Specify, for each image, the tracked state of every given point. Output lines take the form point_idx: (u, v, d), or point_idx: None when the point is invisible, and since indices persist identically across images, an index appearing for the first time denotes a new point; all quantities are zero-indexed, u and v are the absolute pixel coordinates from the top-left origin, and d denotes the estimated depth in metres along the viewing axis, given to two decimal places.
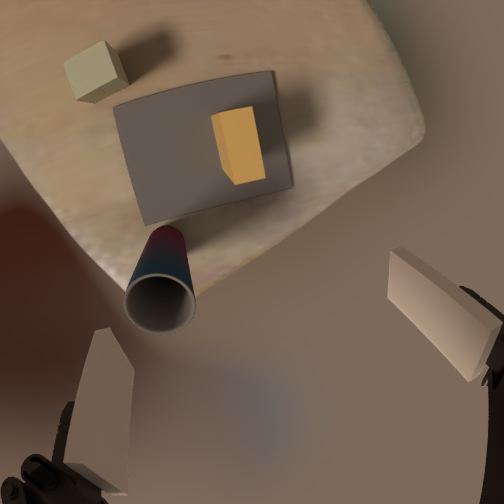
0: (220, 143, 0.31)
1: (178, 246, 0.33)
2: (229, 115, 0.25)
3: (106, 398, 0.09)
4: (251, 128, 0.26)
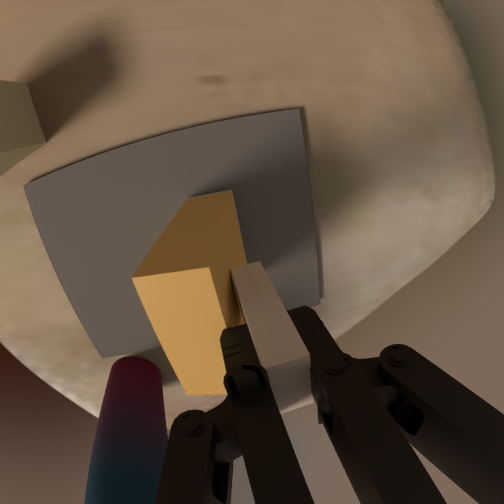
0: None
1: (149, 414, 0.19)
2: (155, 286, 0.10)
3: None
4: (211, 317, 0.11)
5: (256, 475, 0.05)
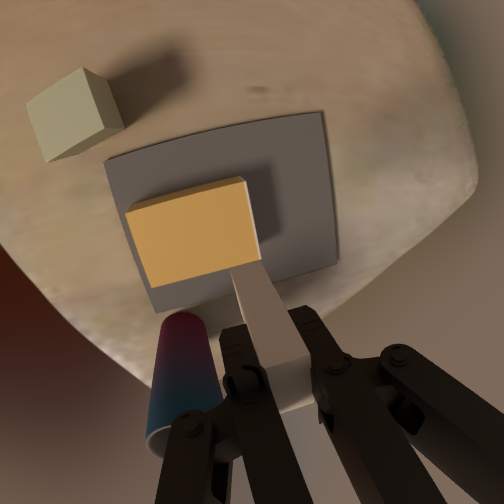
0: None
1: (203, 353, 0.26)
2: None
3: None
4: None
5: (256, 475, 0.05)
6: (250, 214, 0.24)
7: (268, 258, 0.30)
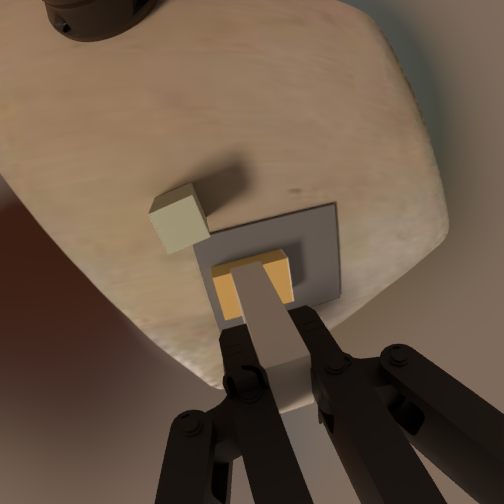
0: None
1: None
2: None
3: None
4: (216, 290, 0.39)
5: (255, 475, 0.05)
6: (289, 276, 0.40)
7: (296, 296, 0.45)
